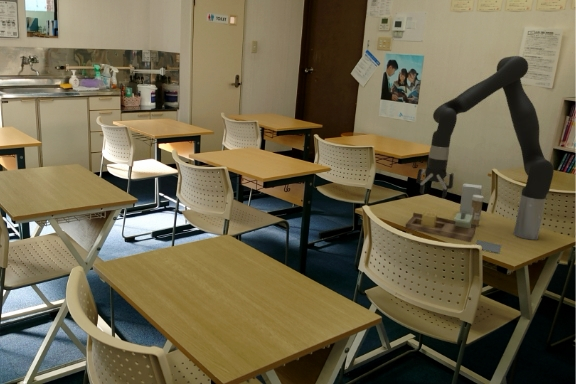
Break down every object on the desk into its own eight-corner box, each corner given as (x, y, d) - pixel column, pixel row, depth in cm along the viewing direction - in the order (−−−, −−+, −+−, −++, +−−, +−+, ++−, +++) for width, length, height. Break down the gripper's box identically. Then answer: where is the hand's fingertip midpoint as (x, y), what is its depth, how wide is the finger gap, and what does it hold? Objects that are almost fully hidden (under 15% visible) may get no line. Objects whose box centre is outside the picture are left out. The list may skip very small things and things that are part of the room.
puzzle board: (474, 233, 216) (476, 224, 214) (470, 243, 204) (472, 233, 203) (412, 221, 226) (413, 212, 225) (405, 229, 215) (406, 220, 214)
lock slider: (470, 227, 215) (473, 209, 213) (467, 234, 206) (470, 215, 204) (455, 224, 218) (458, 206, 216) (451, 231, 208) (454, 212, 206)
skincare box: (477, 216, 241) (483, 185, 237) (476, 219, 235) (482, 188, 231) (459, 213, 244) (464, 182, 240) (457, 216, 238) (462, 185, 234)
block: (434, 227, 218) (437, 214, 216) (432, 231, 213) (434, 217, 212) (423, 225, 220) (424, 212, 218) (420, 228, 215) (422, 214, 214)
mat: (501, 245, 204) (501, 244, 204) (499, 253, 195) (499, 252, 195) (474, 240, 208) (474, 239, 208) (471, 247, 199) (471, 246, 199)
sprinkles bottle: (477, 228, 223) (482, 198, 220) (466, 225, 226) (471, 196, 222) (479, 225, 227) (484, 195, 224) (468, 223, 229) (473, 193, 226)
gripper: (458, 158, 209) (451, 197, 213) (422, 153, 215) (417, 190, 219) (455, 161, 202) (448, 201, 207) (418, 155, 208) (413, 194, 213)
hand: (432, 195), depth 213 cm, fingers open, 8 cm apart
